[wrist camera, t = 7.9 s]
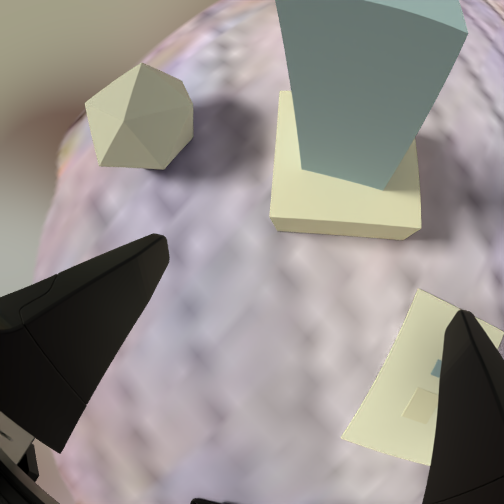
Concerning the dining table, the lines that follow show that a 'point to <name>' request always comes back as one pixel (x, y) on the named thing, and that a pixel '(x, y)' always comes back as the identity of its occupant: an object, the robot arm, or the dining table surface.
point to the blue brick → (366, 78)
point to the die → (140, 119)
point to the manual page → (409, 385)
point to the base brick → (339, 193)
